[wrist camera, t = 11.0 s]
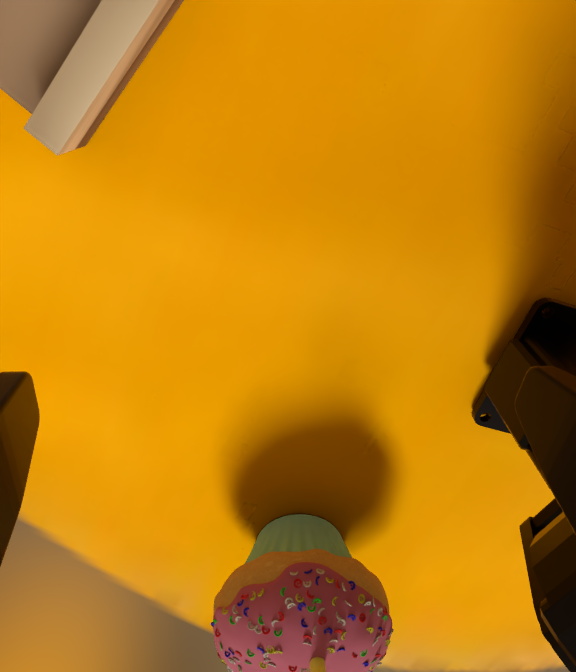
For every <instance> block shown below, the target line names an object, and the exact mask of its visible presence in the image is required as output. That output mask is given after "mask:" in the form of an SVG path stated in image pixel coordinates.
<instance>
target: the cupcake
mask: <svg viewBox="0 0 576 672" xmlns="http://www.w3.org/2000/svg"><path fill="white" fill-rule="evenodd" d="M211 625H212V626H213V630H214V642H215V646H216V649H217V651H218V656H219V657H220V658H221V659H222V660H221V661H222V662H223V663H224V664H226V665H227V669H228V670H229V671H230V672H233V671H234V672H372V670H373V669H374V668H375V667H376V666H377V665H378V666H379V665H380V664H382V663H379V662H380V661H381V660H382V659H383V657H384V656H385V655H386V650H387V648H388V645H389V643H390V636H391V634H392V632H393V629H392V619H391V617H390V615H389V605H388V600H387V597H386V593H385V591H384V588H383V586H382V584H381V582H380V581H379V579H378V578H377V576H375V575H374V574H373V573H372V572H370V571H369V570H368V569H367V568H366V567H365V566H364V565H363V564H362V563H361V562H359V561H358V560H356V559H354V558H352V556H351V555H350V553H349V551H348V549H347V547H346V545H345V543H344V541H343V539H342V536H341V534H340V533H339V531H338V530H337V529H336V528H335V527H334V526H333V525H332V524H331V523H329V522H328V521H326V520H324V519H322V518H319V517H316V516H313V515H307V514H293V515H287V516H283V517H280V518H278V519H275V520H273V521H272V522H270V523H269V524H267V525H266V526H265V527H264V528H263V529H262V530H261V532H260V533H259V535H258V537H257V540H256V542H255V544H254V547H253V549H252V551H251V553H250V555H249V557H248V559H247V561H246V563H245V564H244V565H242V566H240V567H239V568H237V569H236V570H235V571H234V572H233V573H232V574H231V575H230V576H229V578H228V579H227V580H226V582H225V583H224V585H223V587H222V589H221V590H220V592H219V593H218V594H217V596H216V597H215V600H214V616H213V622H211ZM229 667H230V669H229ZM231 669H232V670H231Z"/></svg>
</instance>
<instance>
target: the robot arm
mask: <svg viewBox="0 0 576 672" xmlns="http://www.w3.org/2000/svg"><path fill="white" fill-rule="evenodd" d="M547 307H550V309H549V311H548V312H547V313H546V314H542V311H543V310H544V309H545V308H547ZM483 413H487V414H486V415H485V416H481V415H482V414H483ZM472 417H473V419H474V421H475V422H476V423H477V424H478V425H480V426H484V427H488V428H491V429H495V430H499V431H503V432H506V433H510V434H512V436H513V438H514V439H515V441H516V442H517V444H518V446H519V447H520V448H521V449H524V450H526V452H527V453H528V455H529V457H530V458H531V460H532V461H533V463H534V465H535V466H536V468H537V469H538V471H539V473H540V474H541V476H542V477H543V479H544V481H545V482H546V484H547V485H548V487H549V488H550V489H551V491H552V493H553V495H554V496H555V499H553V500H552V501H551V502H550V503H549V504H548V505H547V506H546V507H545V508H543V509H542V510H541V511H540V512H539V513H538V514H537V515H536V516H535V517H529V518H528V519H527V520H526V521H524V522H523V523H522V524H521V525H520V533H521V538H522V544H523V549H524V554H525V560H526V565H527V571H528V576H529V582H530V587H531V593H532V598H533V604H534V608H535V612H536V615H537V619H538V621H539V623H540V627H541V631H542V633H543V635H544V637H545V638H546V640H547V641H548V642H549V643H550V644H551V646H552V648H553V649H554V651H555V652H556V654H557V655H558V656H559V658H560V659H561V660H562V662H563V663H564V665H565V666H566V667H567V668H568V669H569V671H570V672H576V306H574V305H570V304H567V303H564V302H560V301H557V300H554V299H551V298H543V299H540V300H538V301H537V302H535V304H534V305H533V306H532V308H531V310H530V311H529V313H528V315H527V317H526V318H525V320H524V322H523V324H522V325H521V327H520V329H519V330H518V332H517V334H516V336H515V337H514V339H513V340H512V341H510V342H509V344H508V345H507V347H506V349H505V351H504V352H503V354H502V356H501V358H500V359H499V361H498V363H497V364H496V366H495V368H494V370H493V371H492V373H491V375H490V377H489V378H488V380H487V382H486V384H485V385H484V391H483V393H482V394H481V396H480V398H479V399H478V401H477V403H476V405H475V406H474V408H473V410H472ZM38 427H39V408H38V403H37V398H36V394H35V389H34V384H33V380H32V377H31V375H30V374H29V373H27V372H1V373H0V566H1V563H2V560H3V558H4V555H5V552H6V549H7V546H8V543H9V540H10V537H11V535H12V532H13V529H14V526H15V523H16V520H17V517H18V514H19V511H20V508H21V504H22V500H23V496H24V491H25V487H26V482H27V477H28V473H29V468H30V464H31V459H32V454H33V450H34V445H35V440H36V436H37V431H38Z"/></svg>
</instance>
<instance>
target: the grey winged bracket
mask: <svg viewBox="0 0 576 672" xmlns="http://www.w3.org/2000/svg"><path fill="white" fill-rule="evenodd" d="M183 1H184V0H0V88H1V89H2V90H3V91H4V92H5V93H7V94H8V95H9V96H10V97H12V98H13V99H14V100H15V101H17V102H18V103H19V104H20V105H21V106H23V107H24V108H25V109H26V110H28V111H29V112H30V113H31V114H32V115H31V117H30V119H29V120H28V122H27V123H26V125H25V127H24V129H25V130H26V131H27V132H29V133H30V134H31V135H32V136H34V137H35V138H36V139H37V140H39V141H40V142H41V143H42V144H44V145H45V146H46V147H47V148H49V149H50V150H51V151H52V152H54V153H55V154H56V155H60V154H63V153H66V152H69V151H72V150H75V149H77V148H80V147H83V146H86V144H87V143H88V141H89V140H90V138H91V137H92V135H93V134H94V133H95V131H96V130H97V128H98V127H99V125H100V124H101V122H102V121H103V119H104V118H105V116H106V115H107V113H108V112H109V110H110V109H111V107H112V106H113V104H114V103H115V101H116V100H117V98H118V97H119V95H120V94H121V92H122V91H123V90H124V88H125V87H126V85H127V84H128V82H129V81H130V79H131V78H132V76H133V75H134V73H135V72H136V70H137V69H138V67H139V66H140V64H141V63H142V61H143V60H144V58H145V57H146V55H147V54H148V52H149V51H150V50H151V48H152V47H153V45H154V44H155V42H156V41H157V39H158V38H159V36H160V35H161V33H162V32H163V30H164V29H165V27H166V26H167V24H168V23H169V21H170V20H171V18H172V17H173V15H174V14H175V12H176V11H177V9H178V8H179V7H180V5H181V4H182V2H183Z"/></svg>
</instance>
